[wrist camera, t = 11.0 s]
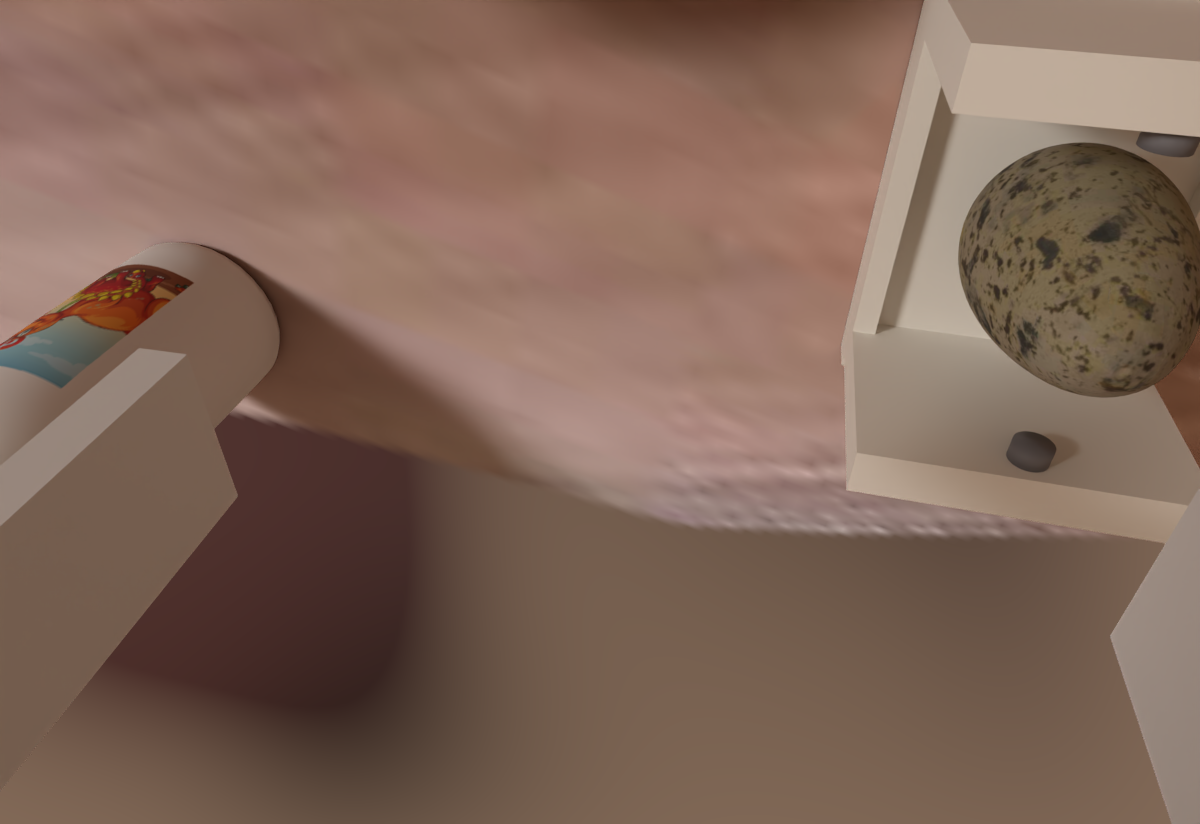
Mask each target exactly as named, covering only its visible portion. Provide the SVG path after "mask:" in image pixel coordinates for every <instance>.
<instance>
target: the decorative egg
mask: <svg viewBox="0 0 1200 824" xmlns="http://www.w3.org/2000/svg"><path fill="white" fill-rule="evenodd" d="M958 265H959V274H960V279H961V284H962V287H963V290H964V293H965V296H966V299H967V302H968V304H969V306H970V308H971V310H972V312H973V313H974V315H975V317H976V319H977V320H978V322H979V323H980V325H981V326H982V328H983V329H984V331H985V332H986V333H987V334H988V336H989V337H990V338H991V339H992V340H993V341H994V343H995V344H996V345H997V346H998V347H999V348H1000V349H1001V350H1002V351H1003V352H1004V353H1005V354H1006V355H1008V356H1009V357H1010V358H1011V359H1012V360H1013V361H1014V362H1016V363H1017V364H1018V365H1020V366H1021V367H1022V368H1024V369H1025V370H1027V371H1028V372H1030V373H1031V374H1033V375H1034V376H1036V377H1037V378H1039V379H1041V380H1043V381H1044V382H1046V383H1048V384H1050V385H1052V386H1055V387H1057V388H1059V389H1062V390H1065V391H1068V392H1071V393H1075V394H1078V395H1083V396H1089V397H1100V398H1107V397H1119V396H1126V395H1130V394H1133V393H1137V392H1140V391H1142V390H1145V389H1147V388H1149V387H1150V386H1152V385H1154V384H1156V383H1157V382H1159V381H1160V380H1161V379H1163V378H1164V377H1166V376H1167V375H1168V374H1169V373H1170V372H1171V371H1172V370H1173V369H1174V368H1175V367H1176V366H1177V365H1178V363H1179V362H1180V361H1181V360H1182V358H1183V357H1184V356H1185V354H1186V353H1187V351H1188V350H1189V348H1190V346H1191V344H1192V342H1193V341H1194V339H1195V336H1196V334H1197V331H1198V328H1199V325H1200V230H1199V228H1198V225H1197V222H1196V219H1195V217H1194V215H1193V212H1192V210H1191V208H1190V206H1189V205H1188V203H1187V201H1186V199H1185V198H1184V196H1183V195H1182V193H1181V192H1180V191H1179V189H1178V188H1177V187H1176V186H1175V184H1174V183H1173V182H1172V181H1171V180H1170V179H1169V178H1168V177H1167V176H1166V175H1165V174H1164V173H1163V172H1162V171H1161V170H1159V169H1158V168H1157V167H1155V166H1154V165H1153V164H1152V163H1150V162H1148V161H1147V160H1145V159H1143V158H1142V157H1140V156H1138V155H1136V154H1134V153H1132V152H1129V151H1126V150H1124V149H1121V148H1118V147H1114V146H1110V145H1105V144H1099V143H1086V142H1080V143H1067V144H1060V145H1055V146H1051V147H1047V148H1043V149H1040V150H1038V151H1035V152H1032V153H1030V154H1028V155H1026V156H1024V157H1022V158H1020V159H1018V160H1017V161H1015V162H1013V163H1012V164H1010V165H1009V166H1007V167H1006V168H1005V169H1003V170H1002V171H1001V172H1000V173H998V174H997V175H996V176H995V177H994V178H993V179H992V180H991V181H990V182H989V183H988V184H987V185H986V186H985V187H984V189H983V190H982V191H981V192H980V194H979V195H978V196H977V198H976V199H975V201H974V203H973V204H972V206H971V208H970V210H969V212H968V214H967V216H966V219H965V221H964V224H963V228H962V232H961V236H960V241H959V250H958Z"/></svg>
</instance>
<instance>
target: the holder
mask: <svg viewBox="0 0 1200 824" xmlns="http://www.w3.org/2000/svg"><path fill="white" fill-rule="evenodd" d="M1080 142H1086V143H1099V144H1105V145H1110V146H1114V147H1118V148H1121V149H1124V150H1126V151H1129V152H1132V153H1134V154H1136V155H1138V156H1140V157H1142V158H1143V159H1145V160H1147V161H1148V162H1150V163H1152V164H1153V165H1154V166H1155V167H1157V168H1158V169H1159V170H1161V171H1162V172H1163V173H1164V174H1165V175H1166V176H1167V177H1168V178H1169V179H1170V180H1171V181H1172V182H1173V183H1174V184H1175V186H1176V187H1177V188H1178V189H1179V191H1180V192H1181V193H1182V195H1183V196H1184V198H1185V199H1186V201H1187V203H1188V205H1189V206H1190V208H1191V210H1192V212H1193V215H1194V217H1195V219H1196V222H1197V225H1198V228H1199V230H1200V0H924V2H923V7H922V11H921V15H920V19H919V23H918V27H917V31H916V36H915V40H914V44H913V48H912V52H911V56H910V61H909V65H908V69H907V73H906V77H905V81H904V86H903V90H902V94H901V98H900V102H899V106H898V111H897V115H896V119H895V123H894V127H893V131H892V136H891V140H890V144H889V148H888V152H887V156H886V161H885V165H884V169H883V173H882V177H881V181H880V186H879V190H878V194H877V198H876V202H875V206H874V210H873V215H872V219H871V223H870V227H869V231H868V235H867V240H866V244H865V248H864V252H863V256H862V260H861V265H860V269H859V273H858V277H857V281H856V285H855V290H854V294H853V298H852V302H851V306H850V310H849V315H848V319H847V323H846V327H845V331H844V335H843V340H842V344H841V365H844V379H845V434H846V490H849V491H855V492H861V493H867V494H873V495H879V496H885V497H891V498H897V499H903V500H909V501H915V502H921V503H927V504H933V505H939V506H945V507H951V508H957V509H963V510H969V511H975V512H981V513H987V514H993V515H999V516H1005V517H1011V518H1017V519H1023V520H1029V521H1035V522H1041V523H1047V524H1053V525H1059V526H1065V527H1071V528H1077V529H1083V530H1089V531H1095V532H1101V533H1107V534H1113V535H1119V536H1125V537H1131V538H1137V539H1143V540H1149V541H1155V542H1161V543H1166V542H1167V541H1168V539H1169V537H1170V536H1171V534H1172V532H1173V531H1174V529H1175V527H1176V526H1177V524H1178V522H1179V521H1180V519H1181V517H1182V516H1183V514H1184V512H1185V511H1186V509H1187V507H1188V506H1189V504H1190V502H1191V501H1192V499H1193V497H1194V496H1195V494H1196V492H1197V491H1198V489H1199V488H1200V468H1199V467H1198V465H1197V463H1196V461H1195V459H1194V457H1193V455H1192V454H1191V452H1190V450H1189V448H1188V446H1187V444H1186V443H1185V441H1184V439H1183V437H1182V435H1181V433H1180V432H1179V430H1178V428H1177V426H1176V424H1175V422H1174V421H1173V419H1172V417H1171V415H1170V413H1169V411H1168V409H1167V408H1166V406H1165V404H1164V402H1163V400H1162V398H1161V397H1160V395H1159V393H1158V391H1157V389H1156V387H1155V386H1154V385H1152V386H1150V387H1149V388H1147V389H1145V390H1142V391H1140V392H1137V393H1133V394H1130V395H1126V396H1119V397H1107V398H1100V397H1089V396H1083V395H1078V394H1075V393H1071V392H1068V391H1065V390H1062V389H1059V388H1057V387H1055V386H1052V385H1050V384H1048V383H1046V382H1044V381H1043V380H1041V379H1039V378H1037V377H1036V376H1034V375H1033V374H1031V373H1030V372H1028V371H1027V370H1025V369H1024V368H1022V367H1021V366H1020V365H1018V364H1017V363H1016V362H1014V361H1013V360H1012V359H1011V358H1010V357H1009V356H1008V355H1006V354H1005V353H1004V352H1003V351H1002V350H1001V349H1000V348H999V347H998V346H997V345H996V344H995V343H994V341H993V340H992V339H991V338H990V337H989V336H988V334H987V333H986V332H985V331H984V329H983V328H982V326H981V325H980V323H979V322H978V320H977V319H976V317H975V315H974V313H973V312H972V310H971V308H970V306H969V304H968V302H967V299H966V296H965V293H964V290H963V287H962V284H961V279H960V274H959V265H958V250H959V241H960V236H961V232H962V228H963V224H964V221H965V219H966V216H967V214H968V212H969V210H970V208H971V206H972V204H973V203H974V201H975V199H976V198H977V196H978V195H979V194H980V192H981V191H982V190H983V189H984V187H985V186H986V185H987V184H988V183H989V182H990V181H991V180H992V179H993V178H994V177H995V176H996V175H997V174H998V173H1000V172H1001V171H1002V170H1003V169H1005V168H1006V167H1007V166H1009V165H1010V164H1012V163H1013V162H1015V161H1017V160H1018V159H1020V158H1022V157H1024V156H1026V155H1028V154H1030V153H1032V152H1035V151H1038V150H1040V149H1043V148H1047V147H1051V146H1055V145H1060V144H1067V143H1080Z"/></svg>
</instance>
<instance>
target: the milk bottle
mask: <svg viewBox="0 0 1200 824" xmlns="http://www.w3.org/2000/svg"><path fill="white" fill-rule="evenodd" d="M279 345H280V330H279V326H278V321H277V317H276V315H275V312H274V310H273V307H272V305H271V303H270V302H269V300H268V298H267V297H266V295H265V293H264V292H263V290H262V289H261V288H260V287H259V286H258V284H257V283H256V282H255V281H254V279H253V278H252V277H251V276H250V275H248V274H247V273H246V272H245V271H244V270H243V269H242V268H241V267H240V266H238V265H237V264H235V263H234V262H233V261H231V260H230V259H228V258H227V257H226V256H223V255H221V254H219V253H217V252H216V251H214V250H212V249H209V248H206V247H203V246H200V245H197V244H190V243H184V242H176V243H161V244H157V245H154V246H151V247H149V248H147V249H145V250H144V251H142V252H140V253H138V254H137V255H135V256H133V257H132V258H130V259H128V260H127V261H125V262H124V263H122V264H121V265H119V266H118V267H116V268H115V269H113V270H112V271H110V272H109V273H107V274H105V275H104V276H102V277H101V278H99V279H98V280H96V281H95V282H93V283H92V284H90V285H89V286H87V287H86V288H84V289H83V290H81V291H80V292H78V293H77V294H75V295H74V296H72V297H71V298H69V299H68V300H66V301H65V302H63V303H62V304H60V305H58V306H57V307H55V308H54V309H52V310H51V311H49V312H48V313H46V314H45V315H43V316H42V317H40V318H39V319H37V320H36V321H35V322H33V323H32V324H30V325H29V326H27V327H26V328H24V329H23V330H21V331H20V332H18V333H17V334H15V335H14V336H12V337H11V338H9V339H8V340H6V341H5V342H3V343H2V344H0V465H2V464H3V463H4V462H5V461H6V460H8V459H9V458H10V457H11V456H12V455H13V454H15V453H16V452H17V451H18V450H19V449H21V448H22V447H23V446H24V445H25V444H26V443H28V442H29V441H30V440H31V439H32V438H34V437H35V436H36V435H37V434H38V433H39V432H41V431H42V430H43V429H44V428H45V427H47V426H48V425H49V424H50V423H51V422H52V421H54V420H55V419H56V418H57V417H58V416H59V415H61V414H62V413H63V412H64V411H65V410H67V409H68V408H69V407H70V406H71V405H72V404H74V403H75V402H76V401H77V400H78V399H80V398H81V397H82V396H83V395H84V394H85V393H87V392H88V391H89V390H90V389H91V388H93V387H94V386H95V385H96V384H97V383H98V382H100V381H101V380H102V379H103V378H104V377H106V376H107V375H108V374H109V373H110V372H111V371H113V370H114V369H115V368H116V367H117V366H119V365H120V364H121V363H122V362H123V361H124V360H126V359H127V358H128V357H129V356H130V355H132V354H133V353H134V352H135V351H136V350H137V349H139V348H142V349H150V350H157V351H165V352H173V353H180V354H187V356H188V359H189V361H190V364H191V367H192V370H193V373H194V375H195V378H196V381H197V384H198V386H199V389H200V392H201V395H202V398H203V400H204V403H205V406H206V409H207V411H208V414H209V417H210V420H211V423H212V425H213V428H215V427H216V426H217V425H218V424H219V423H220V422H221V421H222V420H223V419H224V418H225V417H226V416H227V415H228V414H229V413H230V412H231V411H232V410H233V409H234V408H235V407H236V406H237V405H238V404H239V403H240V402H241V401H242V400H243V399H244V398H245V397H246V396H247V395H248V393H249V392H250V391H251V390H252V389H253V388H254V387H255V386H256V385H257V384H258V383H259V382H260V381H261V380H262V379H263V378H264V376H265V375H266V374H267V373H268V372H269V371H270V370H271V368H272V367H273V365H274V363H275V361H276V358H277V355H278V350H279Z"/></svg>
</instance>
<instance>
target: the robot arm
mask: <svg viewBox="0 0 1200 824" xmlns="http://www.w3.org/2000/svg"><path fill="white" fill-rule="evenodd" d="M237 496H238V495H237V492H236V489H235V486H234V484H233V481H232V478H231V475H230V473H229V470H228V467H227V464H226V461H225V459H224V456H223V453H222V451H221V448H220V445H219V442H218V439H217V437H216V434H215V431H214V428H213V425H212V423H211V420H210V417H209V414H208V411H207V409H206V406H205V403H204V400H203V398H202V395H201V392H200V389H199V386H198V384H197V381H196V378H195V375H194V373H193V370H192V367H191V364H190V361H189V359H188V356H187V354H180V353H173V352H165V351H157V350H150V349H142V348H139V349H137V350H136V351H135V352H134V353H133V354H132V355H130V356H129V357H128V358H127V359H126V360H124V361H123V362H122V363H121V364H120V365H119V366H117V367H116V368H115V369H114V370H113V371H111V372H110V373H109V374H108V375H107V376H106V377H104V378H103V379H102V380H101V381H100V382H98V383H97V384H96V385H95V386H94V387H93V388H91V389H90V390H89V391H88V392H87V393H85V394H84V395H83V396H82V397H81V398H80V399H78V400H77V401H76V402H75V403H74V404H72V405H71V406H70V407H69V408H68V409H67V410H65V411H64V412H63V413H62V414H61V415H59V416H58V417H57V418H56V419H55V420H54V421H52V422H51V423H50V424H49V425H48V426H47V427H45V428H44V429H43V430H42V431H41V432H39V433H38V434H37V435H36V436H35V437H34V438H32V439H31V440H30V441H29V442H28V443H26V444H25V445H24V446H23V447H22V448H21V449H19V450H18V451H17V452H16V453H15V454H13V455H12V456H11V457H10V458H9V459H8V460H6V461H5V462H4V463H3V464H2V465H0V791H1V790H2V788H3V787H4V786H5V784H6V783H7V782H8V781H9V780H10V778H11V777H12V776H13V775H14V773H15V772H16V771H17V770H18V768H19V767H20V766H21V765H22V763H23V762H24V761H25V760H26V759H27V757H28V756H29V755H30V754H31V752H32V751H33V750H34V749H35V747H36V746H37V745H38V744H39V742H40V741H41V740H42V739H43V737H44V736H45V735H46V734H47V733H48V731H49V730H50V729H51V728H52V726H53V725H54V724H55V723H56V721H57V720H58V719H59V717H60V716H61V715H62V714H63V712H64V711H65V710H66V709H67V708H68V706H69V705H70V704H71V703H72V702H73V700H74V699H75V698H76V697H77V695H78V694H79V693H80V692H81V690H82V689H83V688H84V687H85V685H86V684H87V683H88V682H89V680H90V679H91V678H92V677H93V675H94V674H95V673H96V672H97V670H98V669H99V668H100V667H101V666H102V664H103V663H104V662H105V661H106V659H107V658H108V657H109V656H110V654H111V653H112V652H113V651H114V649H115V648H116V647H117V646H118V644H119V643H120V642H121V641H122V639H123V638H124V637H125V636H126V634H127V633H128V632H129V631H130V629H131V628H132V627H133V626H134V625H135V623H136V622H137V621H138V620H139V618H140V617H141V616H142V615H143V613H144V612H145V611H146V610H147V608H148V607H149V606H150V605H151V603H152V602H153V601H154V600H155V598H156V597H157V596H158V595H159V593H160V592H161V591H162V590H163V589H164V587H165V586H166V585H167V583H168V582H169V581H170V580H171V579H172V577H173V576H174V575H175V574H176V572H177V571H178V570H179V569H180V567H181V566H182V565H183V564H184V562H185V561H186V560H187V559H188V557H189V556H190V555H191V553H193V551H194V550H195V549H196V548H197V546H198V545H199V543H200V542H201V541H202V540H203V539H204V538H205V536H206V535H207V534H208V533H209V531H210V530H211V528H213V526H214V525H215V524H216V523H217V521H218V520H219V519H220V518H221V516H222V515H223V514H224V513H225V512H226V510H227V509H228V508H229V506H230V505H231V504H232V503H233V502H234V500H235V499H236V498H237ZM1110 638H1111V641H1112V644H1113V647H1114V650H1115V653H1116V656H1117V659H1118V662H1119V665H1120V668H1121V671H1122V674H1123V677H1124V680H1125V683H1126V686H1127V689H1128V692H1129V696H1130V699H1131V701H1132V704H1133V708H1134V711H1135V714H1136V717H1137V720H1138V723H1139V726H1140V729H1141V732H1142V735H1143V738H1144V741H1145V744H1146V747H1147V750H1148V753H1149V756H1150V759H1151V763H1152V766H1153V768H1154V772H1155V775H1156V778H1157V781H1158V784H1159V787H1160V790H1161V793H1162V795H1163V799H1164V802H1165V805H1166V808H1167V811H1168V814H1169V817H1170V820H1171V823H1172V824H1200V488H1199V489H1198V491H1197V492H1196V494H1195V496H1194V497H1193V499H1192V501H1191V502H1190V504H1189V506H1188V507H1187V509H1186V511H1185V512H1184V514H1183V516H1182V517H1181V519H1180V521H1179V522H1178V524H1177V526H1176V527H1175V529H1174V531H1173V532H1172V534H1171V536H1170V537H1169V539H1168V541H1167V542H1166V544H1165V546H1164V547H1163V549H1162V551H1161V552H1160V554H1159V556H1158V557H1157V559H1156V561H1155V562H1154V564H1153V566H1152V567H1151V569H1150V571H1149V572H1148V574H1147V576H1146V577H1145V579H1144V581H1143V582H1142V584H1141V586H1140V587H1139V589H1138V591H1137V592H1136V594H1135V596H1134V597H1133V599H1132V601H1131V602H1130V604H1129V606H1128V607H1127V609H1126V611H1125V612H1124V614H1123V616H1122V617H1121V619H1120V621H1119V623H1118V624H1117V625H1116V627H1115V629H1114V631H1113V632H1112V634H1111V636H1110Z"/></svg>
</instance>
